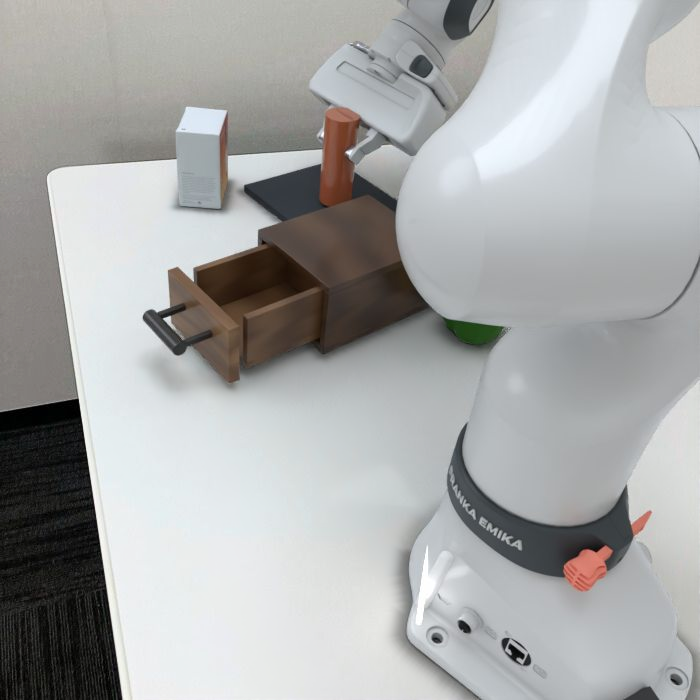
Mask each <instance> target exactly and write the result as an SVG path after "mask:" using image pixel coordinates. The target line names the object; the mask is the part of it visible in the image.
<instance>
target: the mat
mask: <svg viewBox="0 0 700 700" xmlns="http://www.w3.org/2000/svg"><path fill="white" fill-rule="evenodd" d="M320 176H321V163H318V164H315V165H311V166H308V167H304V168H301V169H297V170H293V171H289V172H286V173H282V174H279V175H276V176H272V177H267V178H264V179H261V180H257V181H254V182H251V183H247V184H244V186H243V192H244V193H245V194H246V195H248V196H249V197H250V198H252V199H253V200H254V201H255V202H257V203H258V204H259V205H261V206H262V207H263V208H264V209H266V210H267V211H268V212H270V213H271V214H272V215H273V216H274V217H276V218H277V219H279V220H280V221H281V222H284V221H287V220H290V219H293V218H296V217H299V216H303V215H306V214H309V213H312V212H315V211H318V210H321V209H324V208H328V207H329V206H326V205H324V204H322V203H321V202H320V200H319V189H320ZM365 195H370V196H371V197H373V198H374V199H376V200H377V201H378V202H380V203H381V204H383V205H384V206H386V207H387V208H389V209H390V210H392V211H393V212H395V213H396V208H397V201H398V199H396V198H394V197H393V196H391V195H390V194H388V193H387V192H385V191H384V190H382V189H381V188H379V187H378V186H376V185H375V184H374V183H372V182H370V181H369V180H367V179H366V178H365V177H363V176H361V175H360V174H358V173H357V172H354V181H353V191H352V200H353V199H356V198H359V197H362V196H365Z"/></svg>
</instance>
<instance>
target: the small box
mask: <svg viewBox="0 0 700 700" xmlns="http://www.w3.org/2000/svg"><path fill="white" fill-rule="evenodd" d="M228 119H229V111H228V110H224V109H216V108H214V109H213V108H205V107H195V106H186V107H185V109H184V112H183V115H182V117H181V119H180V122H179V124H178V126H177V128H176V129H175V131H174V134H175V152H176V153H175V154H176V173H177V174H176V175H177V191H178V204H179V206H180V207H191V208H203V209H215V210H221V209H222V207H223V201H224V198H225V194H226V190H227V187H228V183H229V146H228V145H229V120H228Z"/></svg>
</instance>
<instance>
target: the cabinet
mask: <svg viewBox="0 0 700 700" xmlns="http://www.w3.org/2000/svg"><path fill="white" fill-rule="evenodd" d="M266 243H267V244H269V245H270V246H271V247H272V248H273V249H275V250H276V251H277V252H278V253H280V254H281V255H282V256H283V257H284V258H286V259H287V260H288V261H289V262H290V263H292V264H293V265H294V266H295V267H297V268H298V269H299V270H300V271H301V272H303V273H304V274H305V275H306V276H307V277H309V278H310V279H311V280H312V281H314V282H315V283H316V284H317V285H318V286H320V287H321V288H322V289H323V290H324V301H323V312H322V323H321V334H320V338H318V339H315V340H313V341H311V342H309V343H310V344H311V345H312V346H314V348H316V349H317V350H318V351H319V352H320V353H321V354H323V355H325V354H327V353H329V352H331V351H334V350H336V349H338V348H341V347H343V346H345V345H347V344H350V343H352V342H355V341H357V340H358V339H359V340H360V339H361V338H364V337H365V336H367V335H371V334H372V333H375V332H378V331H379V330H381V329H384V328H385V327H388V326H390V325H392V324H395V323H397V322H399V321H402V320H403V319H405V318H408V317H411V316H413V315H415V314H417V313H419V312H421V311H424V310H426V309H428V308H430V307H431V306H430V305H429V304H428V303H427V302H426V301H425V300H424V299H423V297H422V296H421V295H420V294H419V292H418V291H417V290H416V288H415V286H414V285H413V283H412V282H411V280H410V278H409V276H408V274H407V272H406V270H405V268H404V265H403V263H402V260H401V256H400V252H399V249H398V244H397V236H396V213H395V212H393V211H392V210H390V209H389V208H387V207H386V206H384V205H383V204H381V203H380V202H378V201H377V200H376V199H374V198H373V197H371V196H370V195H365V196H362V197H359V198H356V199H353V200H350V201H346V202H343V203H340V204H337V205H334V206H331V207H328V208H324V209H321V210H318V211H315V212H312V213H309V214H306V215H303V216H299V217H296V218H293V219H290V220H287V221H284V222H283V221H281V222H278V223H274V224H271V225H268V226H265V227H262V228H259V229H257V246H260V245H263V244H266Z"/></svg>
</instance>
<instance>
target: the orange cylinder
mask: <svg viewBox="0 0 700 700" xmlns="http://www.w3.org/2000/svg"><path fill="white" fill-rule="evenodd" d="M327 109H328V108H327ZM327 109H326V110H327ZM326 110H325V112H324V118H325V123H324V122H323V123H324V125H323V126H324V136H323V143H322V149H321V163H320V164H321V176H320V189H319V200H320V202H321V203H322V204H324V205H326V206H329V207H331V206H334V205H337V204H340V203H343V202H346V201H350V200H352V191H353V181H354V172H355V170H356V165H355V164H354V163H352V162H351V161H349V160H348V159H347V158H346V157H345V156H344V153H345V151H346V150H348V147H349V146H350V145H351V144H354V145H355V146H356V145H357V144H359V134H360V133H359V132H360V125H359V124H360V115H359V114H357V113H355V112H353V111H352V110H350V109H348V108H345V107H334V108H330V109H328V110H327V111H326ZM355 173H356V172H355Z"/></svg>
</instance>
